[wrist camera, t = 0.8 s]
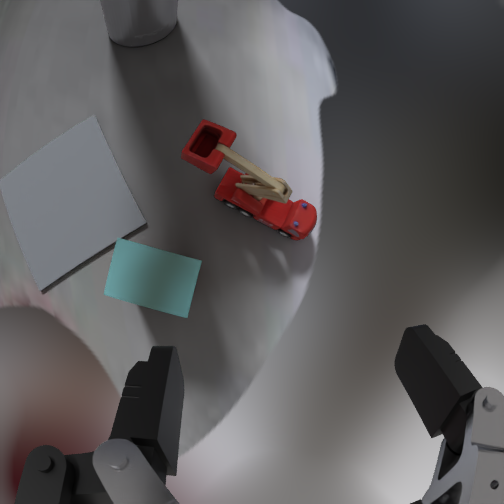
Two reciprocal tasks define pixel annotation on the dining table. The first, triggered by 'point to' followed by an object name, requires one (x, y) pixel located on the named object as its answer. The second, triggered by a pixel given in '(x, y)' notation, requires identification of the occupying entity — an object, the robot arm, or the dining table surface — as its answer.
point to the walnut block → (152, 277)
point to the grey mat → (68, 202)
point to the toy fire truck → (248, 183)
